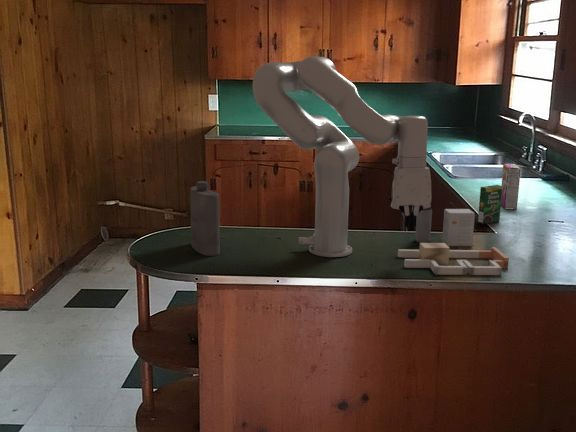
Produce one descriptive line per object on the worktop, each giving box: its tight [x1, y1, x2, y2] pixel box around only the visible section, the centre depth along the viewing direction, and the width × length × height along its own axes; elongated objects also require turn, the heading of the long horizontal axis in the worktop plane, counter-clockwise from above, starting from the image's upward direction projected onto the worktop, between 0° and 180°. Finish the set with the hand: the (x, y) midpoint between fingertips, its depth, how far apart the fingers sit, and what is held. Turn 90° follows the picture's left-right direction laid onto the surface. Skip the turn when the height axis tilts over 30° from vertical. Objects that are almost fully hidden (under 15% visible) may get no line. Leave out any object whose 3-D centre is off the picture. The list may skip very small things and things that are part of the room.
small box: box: [441, 208, 476, 247], centre depth 190 cm, size 8×6×10 cm
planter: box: [414, 207, 433, 243], centre depth 192 cm, size 4×4×10 cm
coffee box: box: [477, 184, 502, 225], centre depth 217 cm, size 8×3×13 cm, turn 116°
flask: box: [189, 180, 221, 257], centre depth 178 cm, size 15×6×20 cm, turn 26°
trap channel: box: [397, 246, 510, 276], centre depth 169 cm, size 28×16×3 cm, turn 91°
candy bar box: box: [500, 163, 522, 210], centre depth 243 cm, size 11×5×16 cm, turn 171°
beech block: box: [418, 242, 451, 266], centre depth 172 cm, size 7×5×5 cm
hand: (410, 228), depth 169 cm, fingers closed
